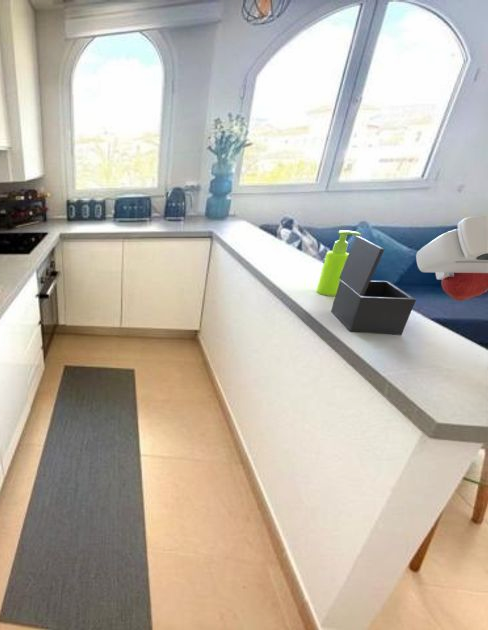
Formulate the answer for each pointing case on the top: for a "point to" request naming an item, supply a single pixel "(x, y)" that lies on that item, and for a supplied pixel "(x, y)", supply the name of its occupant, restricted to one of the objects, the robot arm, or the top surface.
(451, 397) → the top surface
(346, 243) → the soap dispenser
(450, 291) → the onion
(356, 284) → the box lid
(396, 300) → the grey box
